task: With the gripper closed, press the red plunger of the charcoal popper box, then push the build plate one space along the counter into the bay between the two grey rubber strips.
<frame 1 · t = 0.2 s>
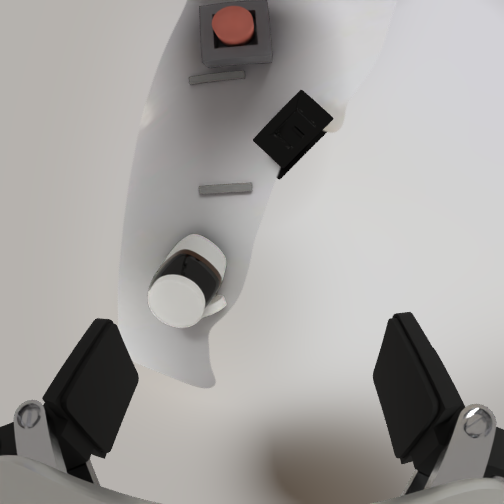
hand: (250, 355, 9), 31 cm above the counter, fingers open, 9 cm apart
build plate: (291, 128, 34), on the counter
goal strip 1: (217, 77, 31), on the counter
spread jar: (201, 271, 43), on the counter
plunger: (234, 27, 25), point 5 cm above the counter, slide at 0.0 cm
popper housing: (237, 37, 29), on the counter
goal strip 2: (225, 187, 37), on the counter
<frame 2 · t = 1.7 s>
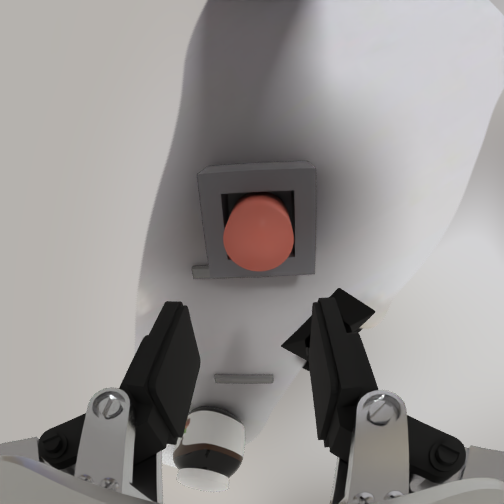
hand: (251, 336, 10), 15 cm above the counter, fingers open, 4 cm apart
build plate: (325, 326, 30), on the counter
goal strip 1: (230, 269, 26), on the counter
spread jar: (218, 423, 38), on the counter
plunger: (259, 229, 20), point 4 cm above the counter, slide at 0.0 cm
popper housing: (260, 210, 24), on the counter
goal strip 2: (244, 377, 33), on the counter
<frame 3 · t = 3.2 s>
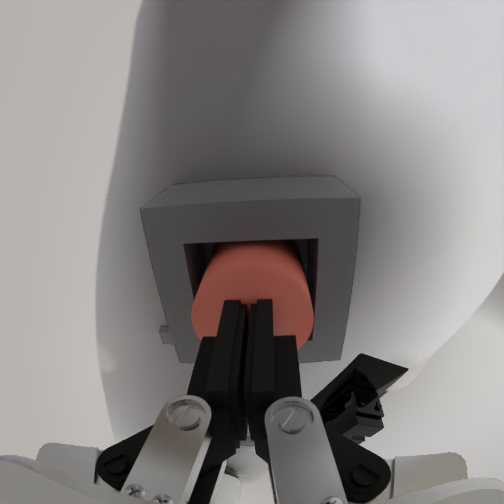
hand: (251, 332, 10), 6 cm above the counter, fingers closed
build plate: (345, 390, 21), on the counter
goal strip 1: (214, 333, 18), on the counter
spread jar: (211, 471, 30), on the counter
plunger: (254, 292, 12), point 4 cm above the counter, slide at -0.9 cm, touching gripper
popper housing: (257, 254, 15), on the counter
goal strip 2: (238, 439, 24), on the counter
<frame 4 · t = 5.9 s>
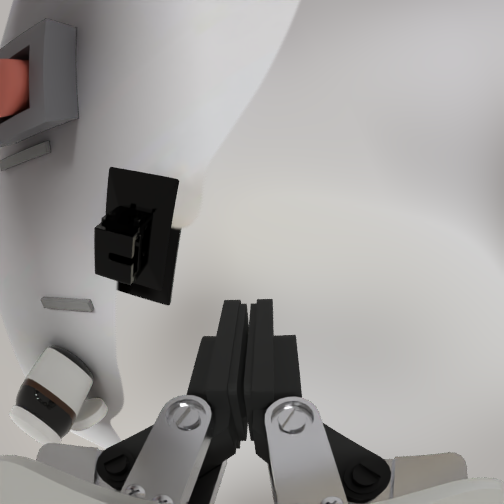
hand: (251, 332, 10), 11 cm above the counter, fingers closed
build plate: (138, 229, 21), on the counter
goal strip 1: (24, 156, 18), on the counter
spread jar: (79, 375, 30), on the counter
plunger: (9, 87, 12), point 4 cm above the counter, slide at -0.6 cm
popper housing: (40, 86, 15), on the counter
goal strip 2: (66, 302, 24), on the counter
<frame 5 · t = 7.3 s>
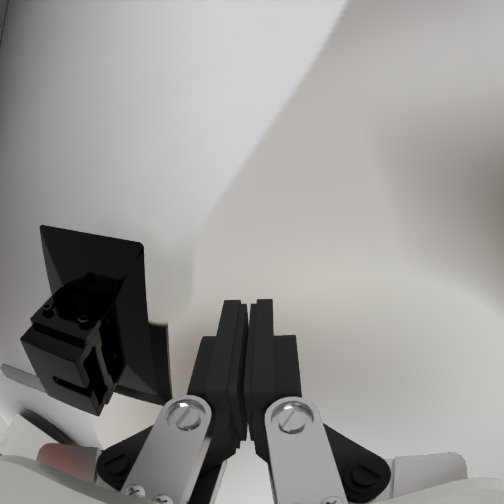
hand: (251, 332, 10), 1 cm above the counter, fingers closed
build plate: (104, 313, 13), on the counter
spread jar: (60, 438, 21), on the counter
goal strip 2: (28, 376, 15), on the counter
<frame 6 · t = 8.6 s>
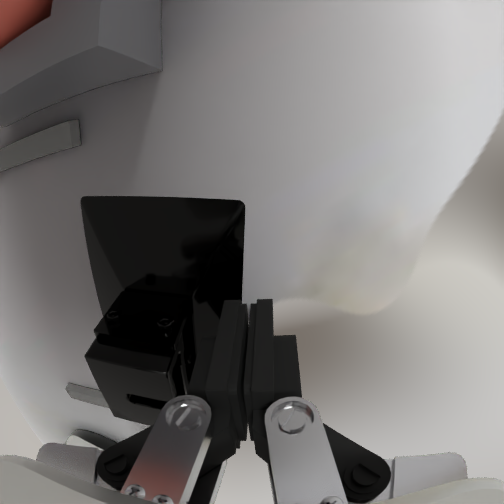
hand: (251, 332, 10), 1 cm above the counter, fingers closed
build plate: (169, 317, 12), on the counter
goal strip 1: (22, 151, 9), on the counter
spread jar: (120, 456, 21), on the counter
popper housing: (70, 12, 6), on the counter
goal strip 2: (111, 397, 15), on the counter
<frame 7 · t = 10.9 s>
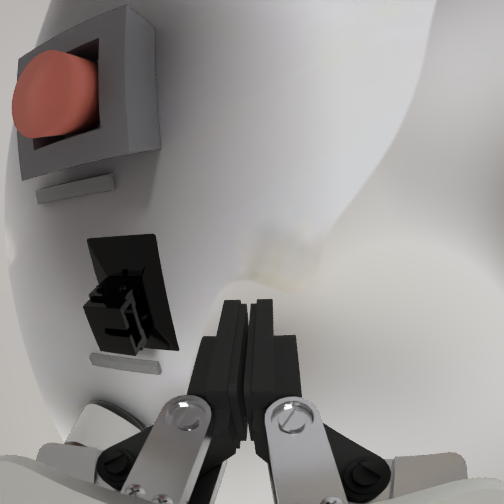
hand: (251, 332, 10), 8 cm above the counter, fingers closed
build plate: (136, 294, 20), on the counter
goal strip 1: (73, 188, 16), on the counter
spread jar: (125, 427, 27), on the counter
plunger: (62, 95, 11), point 4 cm above the counter, slide at -0.6 cm
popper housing: (99, 99, 14), on the counter
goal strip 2: (124, 361, 22), on the counter
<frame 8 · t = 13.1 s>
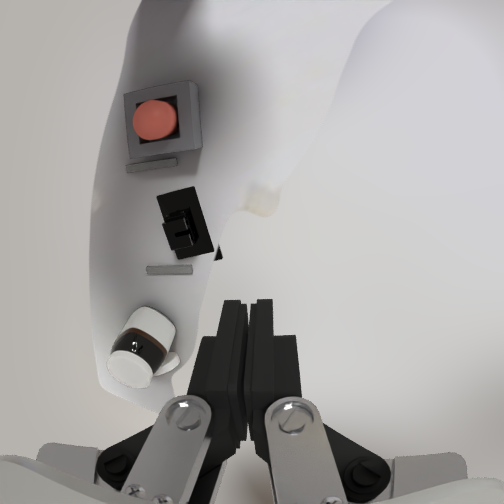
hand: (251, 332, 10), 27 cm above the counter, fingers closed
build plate: (186, 222, 38), on the counter
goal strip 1: (151, 165, 34), on the counter
spread jar: (158, 332, 46), on the counter
plunger: (157, 119, 28), point 4 cm above the counter, slide at -0.6 cm
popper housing: (168, 119, 32), on the counter
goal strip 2: (169, 268, 40), on the counter
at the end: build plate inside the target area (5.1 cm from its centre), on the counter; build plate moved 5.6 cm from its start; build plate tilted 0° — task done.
